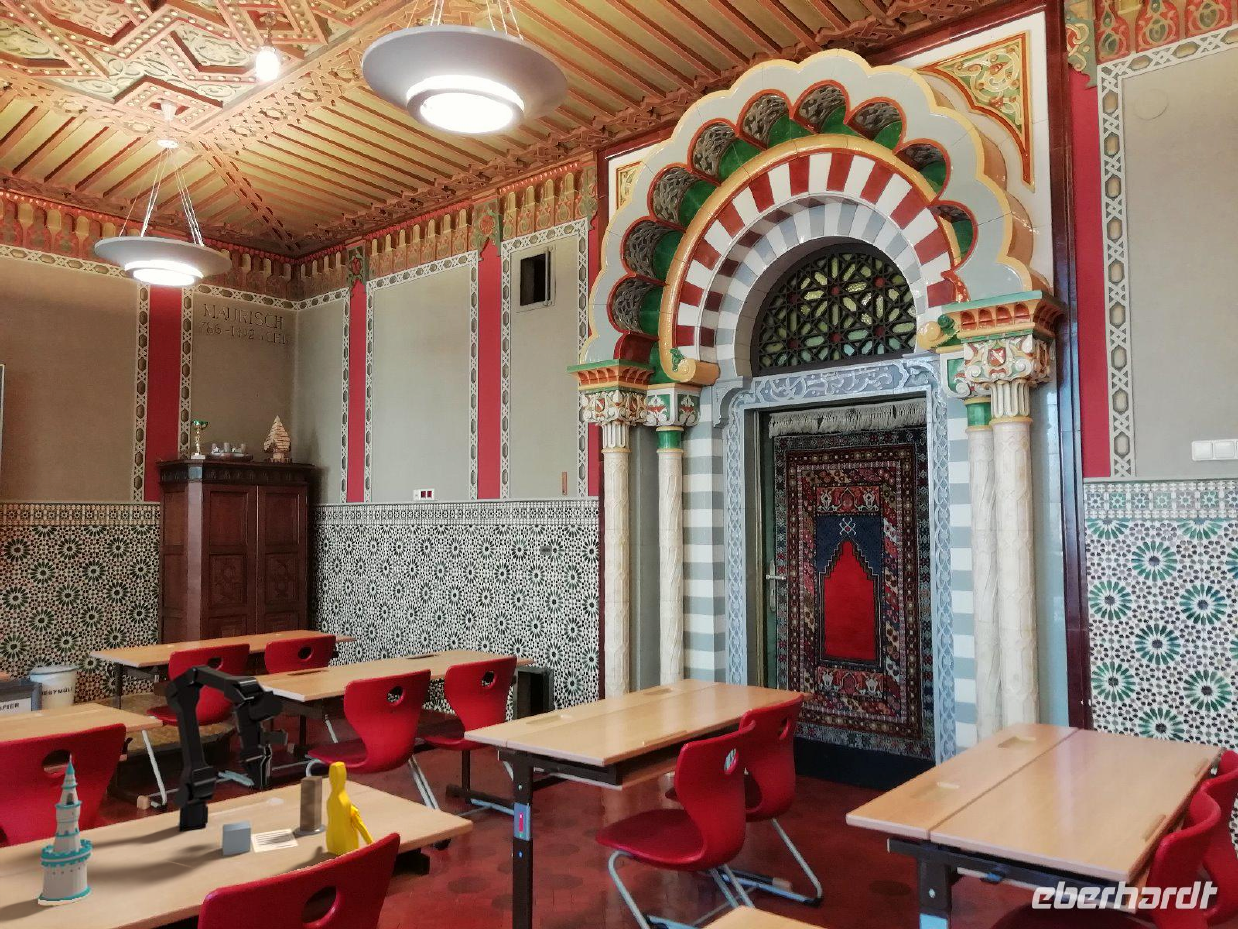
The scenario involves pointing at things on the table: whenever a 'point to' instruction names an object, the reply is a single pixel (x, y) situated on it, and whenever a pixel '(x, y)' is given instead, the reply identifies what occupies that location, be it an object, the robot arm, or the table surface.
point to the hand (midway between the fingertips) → (261, 787)
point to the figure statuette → (342, 816)
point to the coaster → (320, 830)
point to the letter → (273, 840)
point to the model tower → (66, 849)
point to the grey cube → (236, 838)
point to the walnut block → (311, 803)
